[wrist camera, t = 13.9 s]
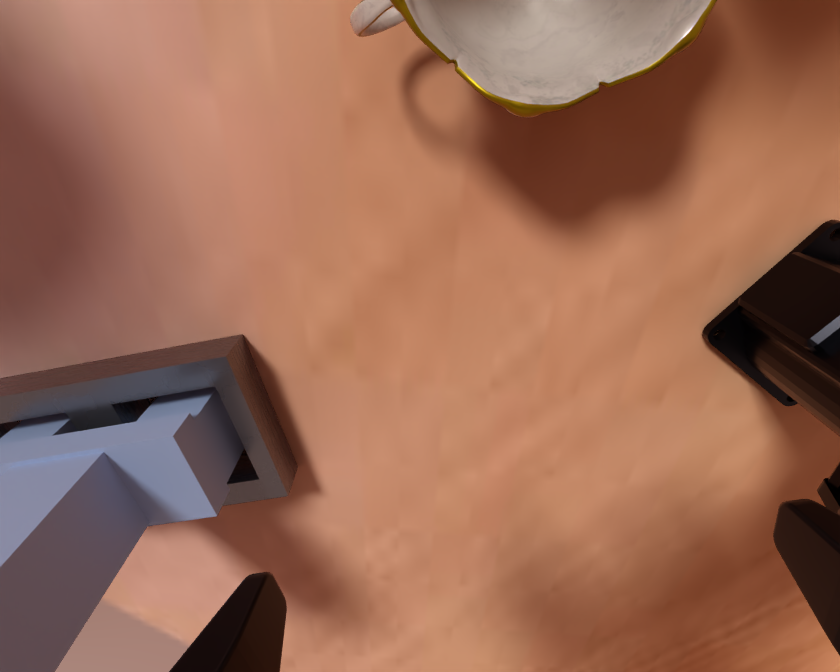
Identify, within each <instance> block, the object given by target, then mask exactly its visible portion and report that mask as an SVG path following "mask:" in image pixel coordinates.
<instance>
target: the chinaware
mask: <svg viewBox="0 0 840 672" xmlns="http://www.w3.org/2000/svg"><path fill="white" fill-rule="evenodd" d="M716 1H717V0H363V1H361V2H360V3H359V4H358V5H357V6H356V7H355V9H354V10H353V12H352V13H351V17H350V22H351V25H352V28H353V30H354V33H355V34H356V35H357V36H360V37H364V36H370V35H374V34H377V33H379V32H382V31H384V30H387V29H389V28H391V27H393V26H396V25H398V24H400V23H401V22H403V21H406V22H407V24H408V25H409V27H410V28H411V29H412V31H413V32H414V33H415V34H416V36H417V37H418V38H419V39H420V40H421V41H422V42H423V43H424V44H425V45H427V46H428V47H429V48H430V49H431V50H432V51H433V52H435V53H436V54H437V55H438V56H439V57H440V58H441V59H442V60H444V61H445V62H446V63H447V64H449V63H454V64H455V71H456V72H457V73H458V74H459V75H460V76H461V77H462V78H464V79H465V80H466V81H467V82H468V83H469V84H470V85H471V86H472V87H473V88H474V89H475V90H477V91H478V92H479V93H480V94H481V95H483V96H484V97H485V98H487V99H489V100H490V101H492V102H494V103H496V104H498V105H500V106H502V107H504V108H505V109H506V110H507V111H508V112H510V113H512V114H514V115H516V116H519V117H535V116H538V115H540V114H542V113H547V112H553V111H559V110H562V109H566V108H569V107H571V106H573V105H575V104H577V103H579V102H581V101H583V100H585V99H586V98H588V97H590V96H592V95H594V94H596V93H598V92H599V85H603V86H606V87H608V88H609V87H612V86H615V85H617V84H620V83H623V82H625V81H628V80H631V79H633V78H636V77H639V76H641V75H643V74H646V73H648V72H650V71H652V70H654V69H655V68H657V67H659V66H660V65H661V64H663V63H664V62H665V61H667V60H668V59H669V58H671V57H672V56H674V55H675V54H678V53H680V52H682V51H683V50H684V49H686V48H687V47H688V46H690V45H691V44H692V43H693V42H694V41H695V40H696V39H697V37H698V36H699V34H700V33H701V31H702V29H703V27H704V24H705V22H706V20H707V17H708V15H709V14H710V12H711V10H712V8H713V7H714V5H715V3H716ZM392 6H393V8H391V7H392ZM390 8H391V9H390ZM388 9H389V10H388Z"/></svg>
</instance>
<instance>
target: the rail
mask: <svg viewBox="0 0 840 672" xmlns="http://www.w3.org/2000/svg"><path fill="white" fill-rule="evenodd" d="M209 387H216V389H217V391H218V393H219V395H220V397H221V400H222V402H223V404H224V406H225V408H226V410H227V412H228V414H229V416H230V419H231V421H232V423H233V425H234V427H235V429H236V431H237V433H238V435H239V437H240V440H241V442H242V444H243V446H244V448H245V450H246V452H247V454H248V455H244V456H240V458H239V460H238V462H237V464H236V466H235V468H234V470H233V472H232V474H231V476H230V478H229V480H228V482H227V485H228V487H229V489H230V491H229V493H228V495H227V497H226V499H225V501H224V503H223V505H222V506H224V505H231V504H238V503H245V502H251V501H258V500H265V499H272V498H278V497H285V496H288V495H289V492H290V489H291V486H292V483H293V480H294V477H295V474H296V471H297V468H298V466H297V464H296V462H295V459H294V457H293V455H292V452H291V450H290V447H289V445H288V443H287V440H286V438H285V435H284V433H283V431H282V428H281V426H280V423H279V421H278V419H277V416H276V414H275V411H274V409H273V407H272V404H271V402H270V399H269V397H268V395H267V392H266V390H265V387H264V385H263V383H262V380H261V378H260V376H259V373H258V371H257V368H256V366H255V364H254V361H253V359H252V356H251V354H250V352H249V349H248V347H247V344H246V342H245V340H244V337H243V335H237V336H231V337H226V338H220V339H215V340H209V341H204V342H198V343H193V344H187V345H182V346H176V347H171V348H165V349H160V350H154V351H149V352H143V353H138V354H132V355H127V356H122V357H116V358H111V359H105V360H100V361H94V362H89V363H83V364H78V365H72V366H67V367H61V368H56V369H50V370H45V371H39V372H34V373H28V374H23V375H17V376H12V377H6V378H1V379H0V438H1V437H3V436H4V435H5V434H6V433H8V432H9V431H10V430H11V429H13V428H14V427H15V426H16V425H18V423H17V421H18V420H24V419H30V418H36V417H41V416H47V415H53V414H59V413H66V414H67V416H68V417H69V419H70V420H71V422H72V423H73V425H74V426H75V428H76V429H77V431H83V430H89V429H95V428H101V427H107V426H113V425H119V424H125V423H131V422H136V421H137V420H138V419H139V418H140V416H141V415H142V414H143V413H144V412H145V411H146V410H147V408H148V407H149V406H150V403H149V401H148V399H147V398H151V397H157V396H163V395H169V394H174V393H180V392H186V391H192V390H198V389H203V388H209Z"/></svg>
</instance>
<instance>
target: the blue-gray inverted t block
mask: <svg viewBox="0 0 840 672" xmlns="http://www.w3.org/2000/svg"><path fill="white" fill-rule="evenodd" d="M243 450H244V446H243V444H242V442H241V440H240V437H239V435H238V433H237V431H236V429H235V427H234V425H233V423H232V421H231V419H230V416H229V414H228V412H227V410H226V408H225V406H224V404H223V402H222V400H221V397H220V395H219V393H218V391H217V389H216V387H209V388H203V389H198V390H192V391H186V392H180V393H174V394H169V395H163V396H158V397H157V398H156V399H155V400H154V402H153V403H152V404H151V405H150V406H149V407H148V408H147V410H146V411H145V412H144V413H143V414H142V415H141V416H140V418H139V419H138V420H137V421H136V422H131V423H125V424H119V425H113V426H107V427H101V428H95V429H89V430H83V431H77V429H76V428H75V426H74V425H73V423H72V422H71V420H70V419H69V417H68V416H67V414H66V413H59V414H53V415H47V416H41V417H36V418H30V419H24V420H22V421H21V422H20V423H19V424H18V425H16V426H15V427H14V428H13V429H11V430H10V431H9V432H8V433H6V434H5V435H4V436H3V437H1V438H0V672H55V671H56V669H57V667H58V666H59V664H60V663H61V661H62V660H63V658H64V656H65V655H66V653H67V652H68V650H69V649H70V647H71V645H72V644H73V642H74V641H75V639H76V637H77V636H78V634H79V633H80V631H81V630H82V628H83V627H84V625H85V623H86V622H87V620H88V619H89V617H90V616H91V614H92V612H93V611H94V609H95V608H96V606H97V605H98V603H99V601H100V600H101V598H102V597H103V595H104V594H105V592H106V590H107V589H108V587H109V586H110V584H111V583H112V581H113V579H114V578H115V576H116V575H117V573H118V572H119V570H120V568H121V567H122V565H123V564H124V562H125V561H126V559H127V557H128V556H129V554H130V553H131V551H132V550H133V548H134V546H135V545H136V543H137V542H138V540H139V539H140V537H141V535H142V534H143V532H144V531H145V529H146V528H147V526H153V525H160V524H167V523H173V522H180V521H187V520H194V519H201V518H208V517H215V516H218V514H219V512H220V509H221V507H222V505H223V503H224V501H225V499H226V497H227V495H228V493H229V491H230V489H229V487H228V485H227V482H228V480H229V478H230V476H231V474H232V472H233V470H234V468H235V466H236V464H237V462H238V460H239V458H240V456H241V454H242V452H243Z"/></svg>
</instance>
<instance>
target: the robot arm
mask: <svg viewBox="0 0 840 672" xmlns="http://www.w3.org/2000/svg"><path fill="white" fill-rule="evenodd" d="M834 230H835V233H834V234H833V236H831V237H830V234H831V233H832V231H834ZM829 237H830V238H829ZM718 330H720V332H719V333H718V334H717V335H715V336H714V333H715V332H716V331H718ZM703 337H704V338H705V339H706V340H707V341H708V342H710V343H711V344H712V345H713V346H714V347H715V348H717V349H718V350H719V351H720V352H721V353H723V354H724V355H725V356H726V357H727V358H729V359H730V360H731V361H732V362H733V363H734V364H736V365H737V366H738V367H739V368H740V369H742V370H743V371H744V372H745V373H746V374H748V375H749V376H750V377H751V378H752V379H753V380H755V381H756V382H757V383H758V384H759V385H761V386H762V387H763V388H764V389H765V390H766V391H768V392H769V393H770V394H771V395H772V396H774V397H775V398H776V399H777V400H778V401H780V402H781V403H782V404H783V405H785V406H792V405H795V404H797V403H799V404H800V405H801V406H802V407H804V408H805V409H806V410H807V411H809V412H810V413H811V414H812V415H814V416H815V417H816V418H817V419H819V420H820V421H821V422H822V423H824V424H825V425H826V426H827V427H829V428H830V429H831V430H832V431H834V432H835V433H836V434H837V435H839V436H840V221H838V220H830V221H826V222H825V223H823V224H822V225H821V226H819V227H818V228H817V229H816V230H815V231H814V232H813V233H811V234H810V235H809V236H808V237H807V238H806V239H805V240H803V241H802V242H801V243H800V244H799V245H798V246H797V247H795V248H794V249H793V250H792V251H791V252H790V253H789V254H787V255H786V256H785V257H784V258H783V259H782V260H781V261H779V262H778V263H777V264H776V265H775V266H774V267H773V268H771V269H770V270H769V271H768V272H767V273H766V274H765V275H763V276H762V277H761V278H760V279H759V280H758V281H757V282H755V283H754V284H753V285H752V286H751V287H750V288H748V289H747V290H746V291H745V292H744V293H743V294H742V295H740V296H739V297H738V298H737V299H736V300H735V301H734V302H732V303H731V304H730V305H729V306H728V307H727V308H726V309H724V310H723V311H722V312H721V313H720V314H719V315H718V316H716V317H715V318H714V319H713V320H712V321H711V322H710V323H708V324H707V325H706V327H705V328H704V330H703ZM817 491H818V493H819V495H820V497H821V499H822V501H823V502H824V504H825V506H826V507H824V506H822V505H821V504H819V503H817V502H815V501H812V500H809V499H799V500H792V501H785V502H783V503H781V504H780V506H779V509H778V514H777V518H776V523H775V528H774V533H773V537H774V542H775V545H776V548H777V550H778V551H779V553H780V555H781V557H782V558H783V560H784V562H785V564H786V565H787V567H788V569H789V571H790V572H791V574H792V576H793V578H794V579H795V581H796V583H797V585H798V586H799V588H800V590H801V592H802V593H803V595H804V597H805V599H806V600H807V602H808V604H809V606H810V607H811V609H812V611H813V612H814V614H815V616H816V618H817V619H818V621H819V623H820V625H821V626H822V628H823V630H824V631H825V633H826V635H827V636H828V638H829V640H830V641H831V643H832V645H833V646H834V648H835V649H836V651H837V652H838V654H839V655H840V462H839V464H838V465H837V467H836V468H835V470H834V471H833V473H832V474H831V476H830V477H829V478H825V479H824V480H823V482H822V483H821V485H820V486H819V488H818V490H817ZM286 611H287V606H286V600H285V597H284V595H283V593H282V591H281V589H280V587H279V586H278V584H277V582H276V580H275V578H274V576H273V575H272V574H271V573H269V572H263V573H256V574H251V575H249V576H247V577H246V578H245V579H244V580H243V581H242V583H241V584H240V585H239V586H238V588H237V589H236V590H235V591H234V592H233V594H232V595H231V596H230V597H229V599H228V600H227V601H226V602H225V604H224V605H223V606H222V607H221V608H220V610H219V611H218V612H217V613H216V615H215V616H214V617H213V618H212V620H211V621H210V622H209V623H208V624H207V626H206V627H205V628H204V629H203V631H202V632H201V633H200V634H199V636H198V637H197V638H196V639H195V641H194V642H193V643H192V644H191V645H190V647H189V648H188V649H187V651H186V652H185V653H184V654H183V655H182V657H181V658H180V659H179V660H178V662H177V663H176V664H175V665H174V666H173V668H172V669H171V670H170V671H169V672H280V664H281V656H282V647H283V638H284V629H285V621H286Z"/></svg>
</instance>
